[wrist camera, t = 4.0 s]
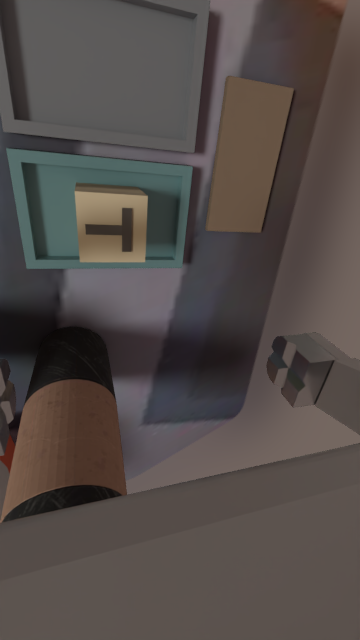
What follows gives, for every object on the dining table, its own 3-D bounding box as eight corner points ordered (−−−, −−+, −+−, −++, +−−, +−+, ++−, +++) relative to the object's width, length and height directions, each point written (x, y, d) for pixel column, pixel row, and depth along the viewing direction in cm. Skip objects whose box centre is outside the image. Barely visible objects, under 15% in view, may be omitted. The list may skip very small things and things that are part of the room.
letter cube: (75, 182, 24) (74, 191, 20) (137, 186, 25) (148, 196, 21) (80, 243, 26) (79, 263, 22) (135, 244, 28) (145, 263, 24)
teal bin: (10, 147, 22) (6, 148, 21) (187, 165, 26) (192, 166, 25) (29, 262, 27) (26, 268, 25) (178, 262, 31) (182, 267, 29)
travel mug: (57, 312, 30) (26, 525, 13) (122, 340, 34) (160, 533, 17) (23, 366, 32) (-41, 609, 15) (87, 387, 36) (93, 599, 19)
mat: (226, 77, 24) (229, 75, 23) (290, 89, 25) (293, 88, 25) (205, 229, 30) (207, 230, 29) (257, 231, 31) (260, 232, 31)
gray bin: (-22, -51, 17) (-30, -65, 16) (202, 8, 21) (210, 0, 20) (7, 132, 22) (3, 131, 20) (188, 152, 26) (194, 153, 24)
